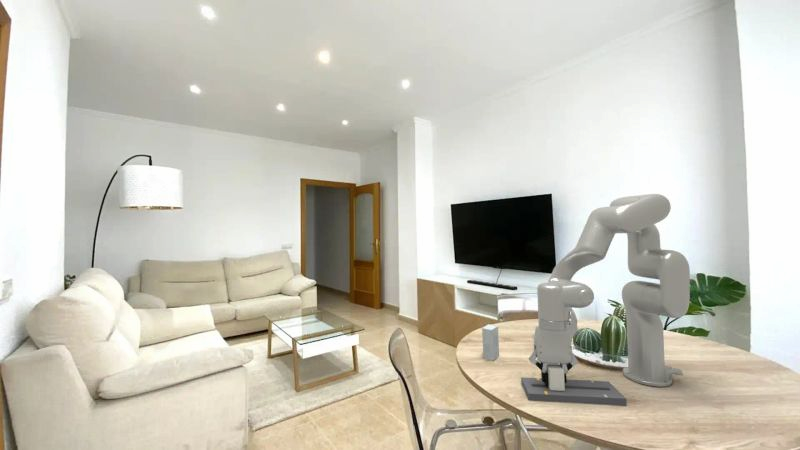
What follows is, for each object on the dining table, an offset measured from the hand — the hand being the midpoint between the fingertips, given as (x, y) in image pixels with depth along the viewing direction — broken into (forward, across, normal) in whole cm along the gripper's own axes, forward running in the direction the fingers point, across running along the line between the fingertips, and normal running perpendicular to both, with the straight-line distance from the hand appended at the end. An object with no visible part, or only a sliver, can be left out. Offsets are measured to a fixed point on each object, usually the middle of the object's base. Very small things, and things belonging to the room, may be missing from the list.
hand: (554, 383), depth 95 cm
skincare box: (+3, +16, -25) cm, 30 cm away
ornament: (+3, -13, -45) cm, 47 cm away
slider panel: (+3, -4, 0) cm, 5 cm away
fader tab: (0, 0, 0) cm, 0 cm away
